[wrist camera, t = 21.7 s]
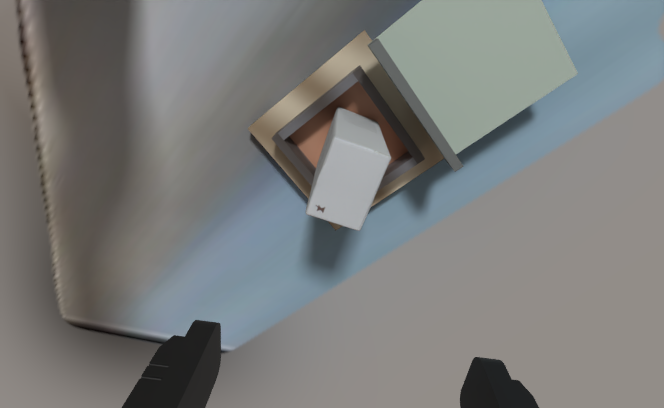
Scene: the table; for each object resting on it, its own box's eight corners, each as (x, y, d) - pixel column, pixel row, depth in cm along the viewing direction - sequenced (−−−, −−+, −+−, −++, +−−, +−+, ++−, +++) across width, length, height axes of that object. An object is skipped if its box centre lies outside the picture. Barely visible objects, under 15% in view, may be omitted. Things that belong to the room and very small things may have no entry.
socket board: (336, 224, 41) (334, 242, 38) (251, 125, 37) (240, 134, 34) (445, 150, 37) (455, 163, 34) (364, 30, 33) (365, 29, 29)
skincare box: (357, 176, 37) (359, 234, 26) (317, 162, 37) (302, 215, 26) (380, 119, 35) (393, 157, 24) (337, 103, 34) (331, 135, 23)
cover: (444, 158, 33) (454, 171, 30) (367, 45, 30) (369, 46, 27) (573, 72, 30) (601, 77, 27) (503, -68, 26) (525, -82, 23)
